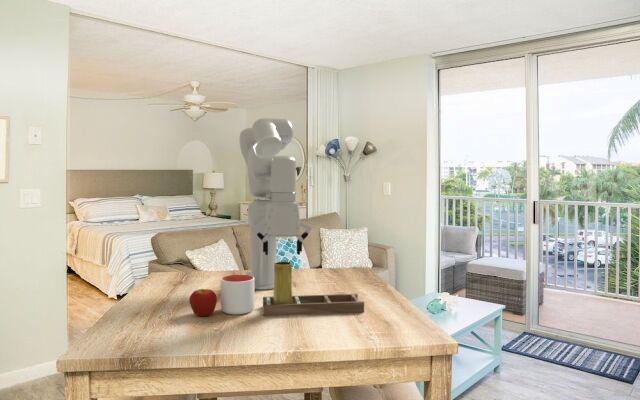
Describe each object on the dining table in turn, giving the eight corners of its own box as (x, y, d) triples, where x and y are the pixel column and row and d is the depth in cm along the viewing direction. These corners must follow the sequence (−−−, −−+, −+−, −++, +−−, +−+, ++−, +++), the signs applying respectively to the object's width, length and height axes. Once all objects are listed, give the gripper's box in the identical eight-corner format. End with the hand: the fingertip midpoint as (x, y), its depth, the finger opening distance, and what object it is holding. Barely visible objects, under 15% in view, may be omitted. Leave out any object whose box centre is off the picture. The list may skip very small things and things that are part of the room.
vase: (290, 313, 139) (290, 265, 138) (270, 311, 140) (270, 264, 139) (295, 307, 145) (295, 261, 144) (276, 305, 146) (276, 260, 145)
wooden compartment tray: (262, 306, 146) (262, 296, 146) (356, 302, 150) (356, 293, 150) (263, 315, 136) (263, 305, 136) (364, 311, 141) (364, 302, 141)
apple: (193, 320, 132) (192, 293, 132) (187, 313, 139) (186, 287, 138) (220, 316, 136) (219, 290, 135) (213, 309, 143) (212, 284, 142)
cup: (260, 307, 145) (259, 275, 144) (244, 317, 135) (244, 283, 135) (231, 304, 148) (231, 273, 147) (214, 313, 138) (214, 280, 138)
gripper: (253, 199, 135) (253, 257, 137) (313, 199, 138) (312, 256, 139) (253, 196, 143) (253, 252, 144) (310, 196, 145) (309, 251, 147)
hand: (282, 254), depth 142 cm, fingers open, 9 cm apart
